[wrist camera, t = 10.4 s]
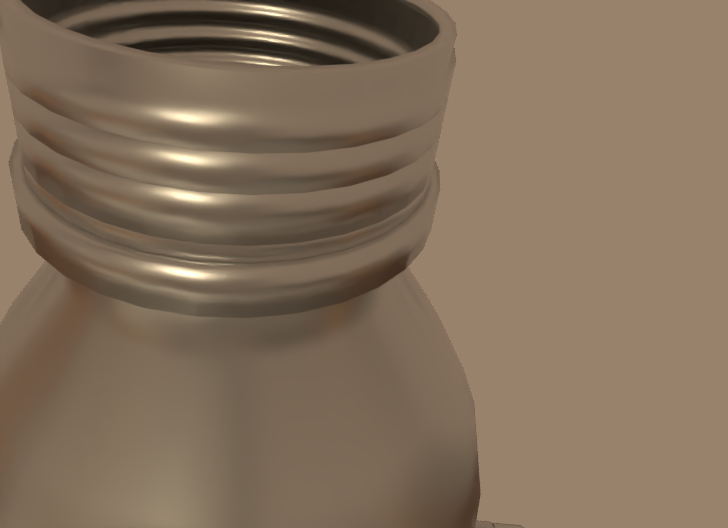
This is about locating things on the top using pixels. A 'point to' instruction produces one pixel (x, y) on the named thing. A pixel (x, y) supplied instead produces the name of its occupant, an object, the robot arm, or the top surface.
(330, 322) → the plastic bottle
